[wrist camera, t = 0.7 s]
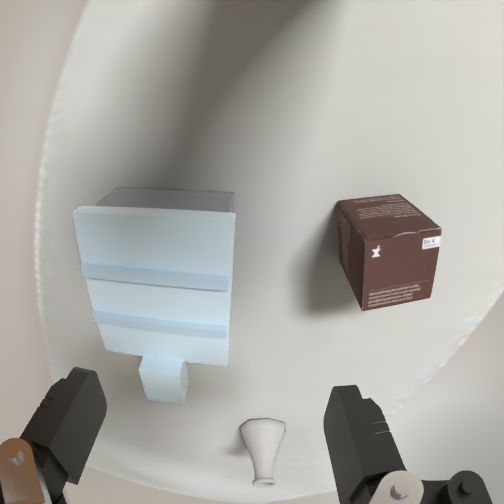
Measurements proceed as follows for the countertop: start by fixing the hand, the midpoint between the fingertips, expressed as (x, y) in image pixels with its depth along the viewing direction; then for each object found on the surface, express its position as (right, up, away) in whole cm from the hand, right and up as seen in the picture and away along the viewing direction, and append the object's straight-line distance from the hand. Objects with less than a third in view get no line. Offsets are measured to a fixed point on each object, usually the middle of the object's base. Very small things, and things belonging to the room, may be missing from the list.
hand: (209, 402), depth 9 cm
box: (+12, +7, +17) cm, 22 cm away
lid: (-6, 0, +14) cm, 15 cm away
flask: (+3, -22, +33) cm, 40 cm away
